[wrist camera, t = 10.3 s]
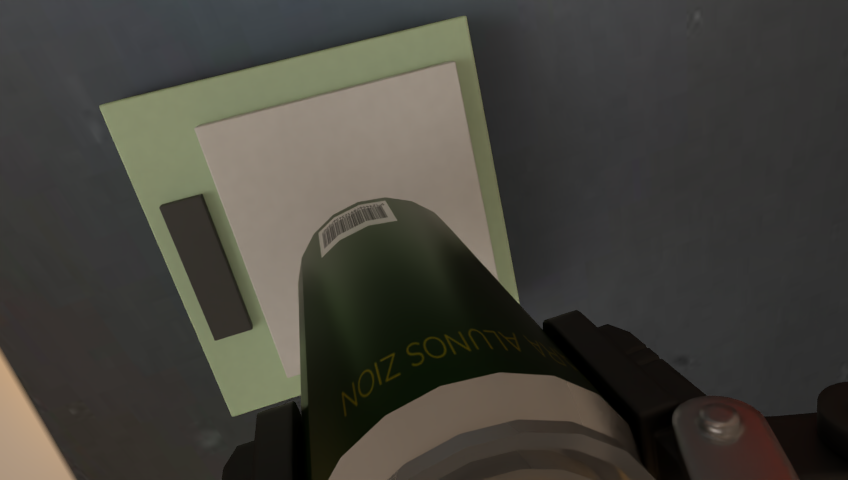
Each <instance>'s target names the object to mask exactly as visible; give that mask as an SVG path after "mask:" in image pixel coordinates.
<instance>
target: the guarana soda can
mask: <svg viewBox="0 0 848 480" xmlns="http://www.w3.org/2000/svg"><path fill="white" fill-rule="evenodd" d="M298 299H299V338H300V377H301V416H302V455H303V480H656V479H655V478H654V477H653V476H652V474H651V473H650V472H649V471H648V470H647V469H646V467H645V466H644V464H643V461H642V458H641V455H640V452H639V450H638V447H637V445H636V442H635V440H634V437H633V434H632V432H631V429H630V427H629V424H628V423H627V422H626V421H625V420H624V419H623V418H622V417H621V416H620V414H619V413H618V412H617V411H616V410H615V409H614V408H613V407H612V406H611V405H610V403H609V402H608V401H607V400H606V399H605V398H604V397H603V396H602V395H601V394H600V392H599V391H598V390H597V389H596V388H595V387H594V386H593V385H592V384H591V383H590V381H589V380H588V379H587V378H586V377H585V376H584V375H583V374H582V373H581V372H580V370H579V369H578V368H577V367H576V366H575V365H574V364H573V363H572V362H571V361H570V359H569V358H568V357H567V356H566V355H565V354H564V353H563V352H562V351H561V350H560V348H559V347H558V346H557V345H556V344H555V343H554V342H553V341H552V340H551V339H550V337H549V336H548V335H547V334H546V333H545V332H544V331H543V330H542V329H541V328H540V326H539V325H538V324H537V323H536V322H535V321H534V320H533V319H532V318H531V317H530V315H529V314H528V313H527V312H526V311H525V310H524V309H523V308H522V307H521V306H520V304H519V303H518V302H517V301H516V300H515V299H514V298H513V297H512V296H511V295H510V293H509V292H508V291H507V290H506V289H505V288H504V287H503V286H502V285H501V284H500V282H499V281H498V280H497V279H496V278H495V277H494V276H493V275H492V274H491V273H490V271H489V270H488V269H487V268H486V267H485V266H484V265H483V264H482V263H481V262H480V260H479V259H478V258H477V257H476V256H475V255H474V254H473V253H472V252H471V251H470V249H469V248H468V247H467V246H466V245H465V244H464V243H463V242H462V241H461V240H460V238H459V237H458V236H457V235H456V234H455V233H454V232H453V231H452V230H451V229H450V228H449V227H448V226H447V225H446V224H445V222H444V221H443V220H442V219H441V218H440V217H439V216H438V215H437V214H436V213H435V212H433V211H431V210H429V209H427V208H425V207H423V206H421V205H419V204H417V203H415V202H413V201H408V200H401V199H394V198H387V197H384V198H378V199H372V200H367V201H361V202H357V203H355V204H353V205H351V206H349V207H347V208H345V209H343V210H341V211H339V212H337V213H335V214H334V215H332V216H331V217H330V218H329V219H328V220H327V221H326V222H325V223H324V224H323V225H322V226H321V227H320V228H319V229H318V230H317V231H316V232H315V233H314V234H313V236H312V238H311V240H310V242H309V244H308V246H307V248H306V250H305V252H304V254H303V256H302V259H301V266H300V273H299V280H298Z"/></svg>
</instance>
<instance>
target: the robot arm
mask: <svg viewBox="0 0 848 480" xmlns="http://www.w3.org/2000/svg"><path fill="white" fill-rule="evenodd" d="M543 331H544V332H545V333H546V334H547V335H548V336H549V337H550V339H551V340H552V341H553V342H554V343H555V344H556V345H557V346H558V347H559V348H560V350H561V351H562V352H563V353H564V354H565V355H566V356H567V357H568V358H569V359H570V361H571V362H572V363H573V364H574V365H575V366H576V367H577V368H578V369H579V370H580V372H581V373H582V374H583V375H584V376H585V377H586V378H587V379H588V380H589V381H590V383H591V384H592V385H593V386H594V387H595V388H596V389H597V390H598V391H599V392H600V394H601V395H602V396H603V397H604V398H605V399H606V400H607V401H608V402H609V403H610V405H611V406H612V407H613V408H614V409H615V410H616V411H617V412H618V413H619V414H620V416H621V417H622V418H623V419H624V420H625V421H626V422H627V423H628V424H629V427H630V429H631V432H632V434H633V437H634V440H635V442H636V445H637V447H638V450H639V452H640V455H641V458H642V461H643V464H644V466H645V467H646V469H647V470H648V471H649V472H650V473H651V474H652V476H653V477H654V478H655V479H656V480H848V382H842V383H837V384H834V385H831V386H829V387H827V388H825V389H824V390H823V391H822V392H821V393H820V394H819V396H818V399H817V413H807V414H796V415H785V416H771V417H764V416H763V415H762V414H761V413H760V412H759V411H758V410H756V409H755V408H754V407H752V406H750V405H748V404H747V403H745V402H742V401H740V400H737V399H733V398H729V397H723V396H706V395H705V394H704V393H703V392H702V391H700V390H699V389H698V388H697V387H695V386H694V385H693V384H692V383H691V382H689V381H688V380H687V379H686V378H685V377H683V376H682V375H681V374H680V373H679V372H677V371H676V370H675V369H674V368H672V367H671V366H670V365H669V364H668V363H666V362H665V361H664V360H663V359H659V356H658V355H657V354H656V353H654V352H653V351H652V350H651V349H650V348H646V345H645V344H643V343H642V342H641V341H640V340H639V339H637V338H636V337H635V336H634V335H633V334H631V333H630V332H628V331H625V330H622V329H620V328H617V327H614V326H611V325H609V324H607V325H604V326H601V327H598V328H597V327H596V326H595V325H594V324H593V323H592V322H591V321H590V320H589V319H587V318H586V317H585V316H584V315H583V314H582V313H581V312H579V311H578V310H575V311H572V312H568V313H565V314H562V315H559V316H556V317H553V318H550V319H547V320H544V322H543ZM222 480H303V455H302V417H301V414H300V411H299V409H298V407H297V405H296V403H295V402H294V401H293V402H290V403H287V404H284V405H281V406H278V407H275V408H271V409H268V410H265V411H262V412H259V413H258V414H257V420H256V431H255V441H252V442H249V443H246V444H243V445H240V446H237V447H236V449H235V451H234V452H233V454H232V455H231V457H230V459H229V460H228V462H227V463H226V465H225V467H224V469H223V475H222Z"/></svg>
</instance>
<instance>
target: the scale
mask: <svg viewBox="0 0 848 480" xmlns="http://www.w3.org/2000/svg"><path fill="white" fill-rule="evenodd" d="M99 108H100V111H101V113H102V115H103V118H104V120H105V122H106V125H107V127H108V129H109V131H110V134H111V136H112V138H113V141H114V143H115V145H116V148H117V150H118V152H119V155H120V157H121V159H122V162H123V164H124V166H125V169H126V171H127V173H128V176H129V178H130V180H131V183H132V185H133V187H134V190H135V192H136V194H137V197H138V199H139V201H140V204H141V206H142V208H143V211H144V213H145V215H146V218H147V220H148V222H149V225H150V227H151V229H152V232H153V234H154V236H155V239H156V241H157V243H158V246H159V248H160V250H161V253H162V255H163V257H164V260H165V262H166V264H167V267H168V269H169V271H170V274H171V276H172V278H173V281H174V283H175V285H176V288H177V290H178V292H179V295H180V297H181V299H182V302H183V304H184V306H185V309H186V311H187V313H188V315H189V318H190V320H191V322H192V325H193V327H194V329H195V332H196V334H197V336H198V339H199V341H200V343H201V346H202V348H203V350H204V353H205V355H206V357H207V360H208V362H209V364H210V367H211V369H212V371H213V374H214V376H215V378H216V381H217V383H218V385H219V388H220V390H221V392H222V395H223V397H224V399H225V402H226V404H227V406H228V409H229V411H230V413H231V416H232V417H234V416H237V415H240V414H243V413H246V412H249V411H253V410H256V409H259V408H262V407H265V406H268V405H271V404H274V403H277V402H280V401H284V400H287V399H290V398H293V397H296V396H299V395H301V377H300V338H299V299H298V280H299V273H300V266H301V259H302V256H303V254H304V252H305V250H306V248H307V246H308V244H309V242H310V240H311V238H312V236H313V234H314V233H315V232H316V231H317V230H318V229H319V228H320V227H321V226H322V225H323V224H324V223H325V222H326V221H327V220H328V219H329V218H330V217H331V216H332V215H334V214H335V213H337V212H339V211H341V210H343V209H345V208H347V207H349V206H351V205H353V204H355V203H357V202H361V201H367V200H372V199H378V198H384V197H387V198H394V199H401V200H408V201H413V202H415V203H417V204H419V205H421V206H423V207H425V208H427V209H429V210H431V211H433V212H435V213H436V214H437V215H438V216H439V217H440V218H441V219H442V220H443V221H444V222H445V224H446V225H447V226H448V227H449V228H450V229H451V230H452V231H453V232H454V233H455V234H456V235H457V236H458V237H459V238H460V240H461V241H462V242H463V243H464V244H465V245H466V246H467V247H468V248H469V249H470V251H471V252H472V253H473V254H474V255H475V256H476V257H477V258H478V259H479V260H480V262H481V263H482V264H483V265H484V266H485V267H486V268H487V269H488V270H489V271H490V273H491V274H492V275H493V276H494V277H495V278H496V279H497V280H498V281H499V282H500V284H501V285H502V286H503V287H504V288H505V289H506V290H507V291H508V292H509V293H510V295H511V296H512V297H513V298H514V299H515V300H516V301H517V302H518V303H519V304H520V302H519V297H518V291H517V286H516V281H515V275H514V270H513V265H512V259H511V254H510V248H509V243H508V238H507V232H506V227H505V221H504V216H503V211H502V205H501V200H500V195H499V189H498V184H497V178H496V173H495V168H494V162H493V157H492V152H491V146H490V141H489V135H488V130H487V125H486V119H485V114H484V108H483V103H482V98H481V92H480V87H479V82H478V76H477V71H476V65H475V60H474V55H473V49H472V44H471V39H470V33H469V28H468V22H467V17H466V16H461V17H456V18H451V19H447V20H443V21H438V22H434V23H430V24H426V25H422V26H418V27H414V28H410V29H406V30H402V31H398V32H394V33H389V34H385V35H381V36H377V37H373V38H369V39H365V40H361V41H357V42H353V43H349V44H345V45H340V46H336V47H332V48H328V49H324V50H320V51H316V52H312V53H308V54H304V55H300V56H296V57H291V58H287V59H283V60H279V61H275V62H271V63H267V64H263V65H259V66H255V67H251V68H247V69H242V70H238V71H234V72H230V73H226V74H222V75H218V76H214V77H210V78H206V79H202V80H198V81H193V82H189V83H185V84H181V85H177V86H173V87H169V88H165V89H161V90H157V91H153V92H149V93H144V94H140V95H136V96H132V97H128V98H124V99H120V100H117V101H113V102H109V103H105V104H102V105H100V106H99Z"/></svg>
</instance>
